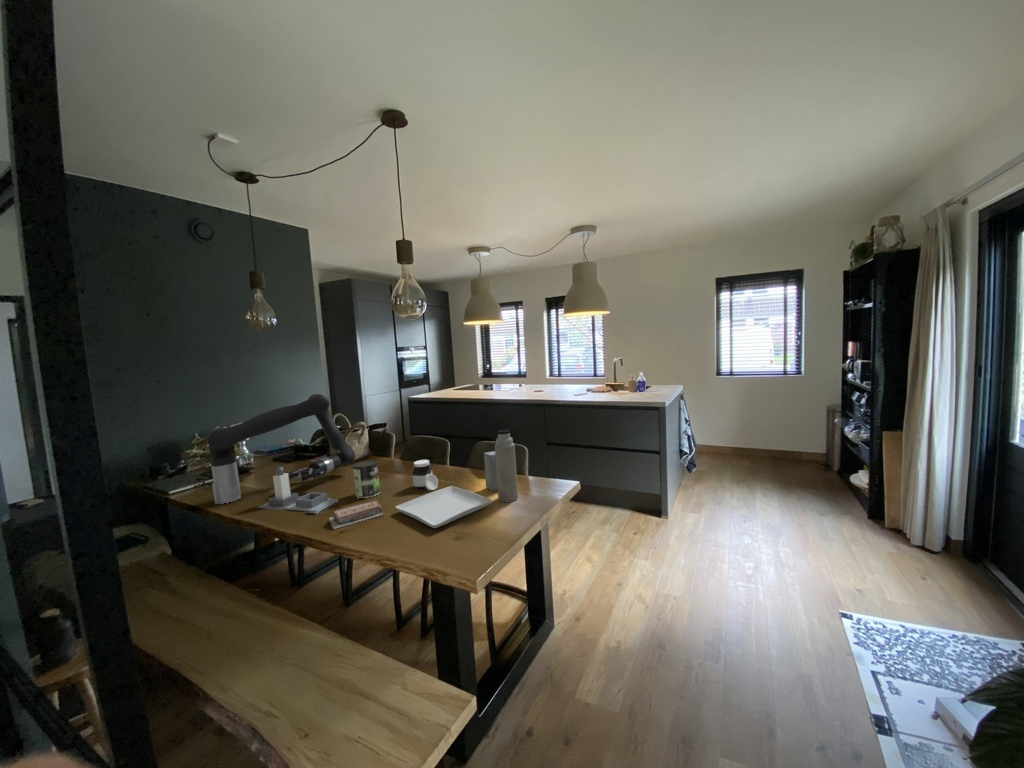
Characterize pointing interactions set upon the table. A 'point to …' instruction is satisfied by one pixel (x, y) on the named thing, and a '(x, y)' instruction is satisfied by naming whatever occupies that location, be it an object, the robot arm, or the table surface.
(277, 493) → the plug
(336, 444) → the robot arm
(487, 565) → the table surface
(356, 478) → the coffee can
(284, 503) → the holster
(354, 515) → the packaged product
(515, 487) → the thermos bottle
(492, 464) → the skincare box
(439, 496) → the square plate
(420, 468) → the spread jar
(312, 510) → the panel
